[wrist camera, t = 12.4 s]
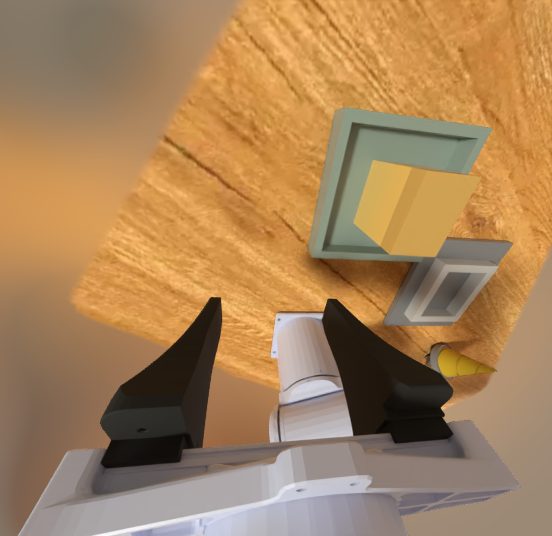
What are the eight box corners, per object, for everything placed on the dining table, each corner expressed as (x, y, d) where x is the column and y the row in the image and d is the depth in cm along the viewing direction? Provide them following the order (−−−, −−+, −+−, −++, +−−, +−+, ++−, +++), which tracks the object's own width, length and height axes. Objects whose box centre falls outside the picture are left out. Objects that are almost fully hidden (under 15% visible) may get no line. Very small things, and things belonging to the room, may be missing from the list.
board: (447, 321, 33) (459, 333, 31) (382, 321, 32) (391, 333, 30) (506, 240, 26) (527, 249, 24) (426, 235, 24) (441, 244, 22)
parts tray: (408, 253, 25) (421, 262, 23) (307, 248, 24) (312, 257, 22) (469, 128, 19) (492, 128, 17) (335, 110, 17) (345, 107, 15)
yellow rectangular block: (387, 225, 23) (435, 257, 17) (353, 223, 22) (389, 254, 16) (412, 164, 20) (482, 176, 14) (373, 159, 19) (427, 170, 13)
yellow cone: (409, 349, 37) (481, 360, 28) (426, 337, 39) (497, 344, 30) (420, 379, 37) (496, 400, 28) (436, 365, 39) (511, 380, 30)
